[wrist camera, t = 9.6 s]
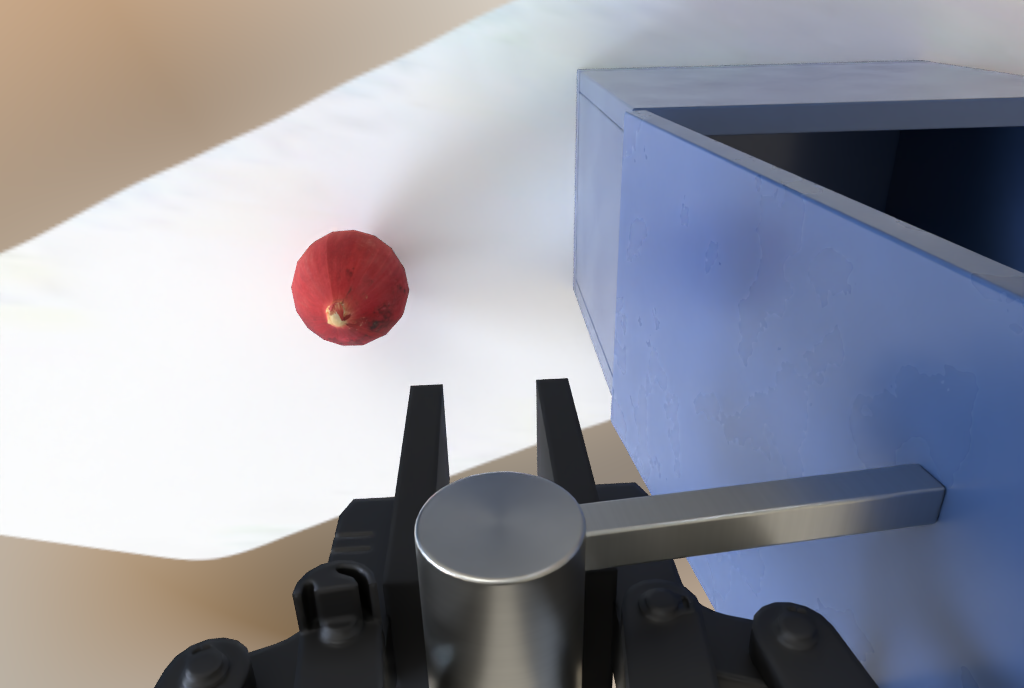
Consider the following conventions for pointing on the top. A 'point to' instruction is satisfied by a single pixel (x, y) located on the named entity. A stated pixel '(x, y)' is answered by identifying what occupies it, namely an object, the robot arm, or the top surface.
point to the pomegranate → (350, 288)
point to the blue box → (815, 150)
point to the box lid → (769, 438)
